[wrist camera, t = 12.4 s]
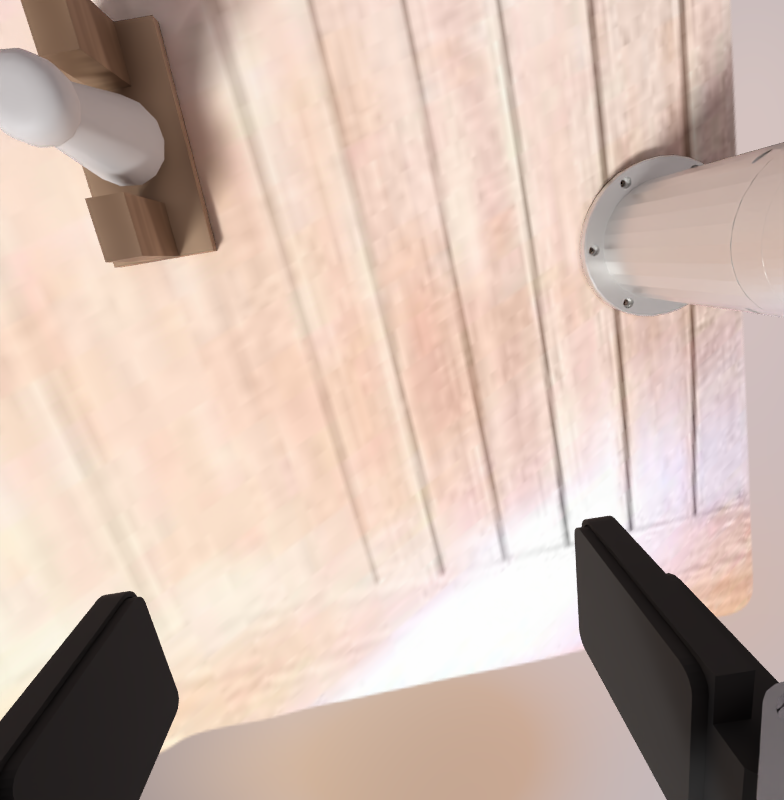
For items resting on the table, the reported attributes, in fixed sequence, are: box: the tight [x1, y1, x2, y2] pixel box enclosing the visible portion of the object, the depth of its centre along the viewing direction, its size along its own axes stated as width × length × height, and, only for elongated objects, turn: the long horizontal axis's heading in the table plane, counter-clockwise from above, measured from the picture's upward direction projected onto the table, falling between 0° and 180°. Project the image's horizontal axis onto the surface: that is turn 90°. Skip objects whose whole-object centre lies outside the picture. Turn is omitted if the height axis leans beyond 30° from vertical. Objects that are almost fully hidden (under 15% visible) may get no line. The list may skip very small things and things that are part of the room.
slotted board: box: [21, 0, 217, 267], centre depth 33 cm, size 8×16×8 cm, turn 9°
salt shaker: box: [0, 48, 164, 186], centre depth 30 cm, size 6×6×13 cm
